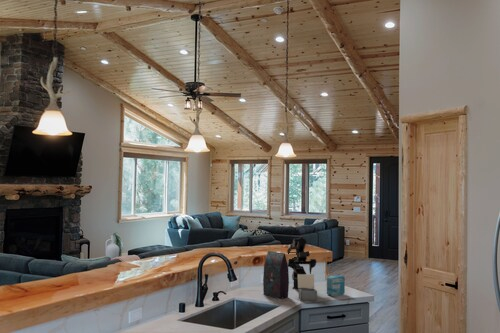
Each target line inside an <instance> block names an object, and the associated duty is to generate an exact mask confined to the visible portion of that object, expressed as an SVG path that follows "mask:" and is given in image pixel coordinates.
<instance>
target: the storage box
mask: <svg viewBox="0 0 500 333" xmlns="http://www.w3.org/2000/svg"><path fill="white" fill-rule="evenodd" d="M298 299H299V300H300V302H318V290H317V289H316V288H315V287H314V288H299V289H298Z"/></svg>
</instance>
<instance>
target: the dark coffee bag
mask: <svg viewBox="0 0 500 333" xmlns="http://www.w3.org/2000/svg"><path fill="white" fill-rule="evenodd" d="M287 260H288V259H287V255H286V253H284V252H279V251H272V250H267V254H266V257H265V260H264V265H263V275H262V276H263V278H262V279H263V280H262V282H263V283H262V284H263V285H262V287H263V289H262V290H263V295H265V296H268V297H272V298H275V299H279V300H281V299H282V300H283V299H286V298H289V288H290V285H289V284H290V280H289V279H290V275H289V272H290V271H289V267H288V261H287Z"/></svg>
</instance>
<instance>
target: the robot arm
mask: <svg viewBox="0 0 500 333" xmlns="http://www.w3.org/2000/svg"><path fill="white" fill-rule="evenodd" d="M306 246H307V240H306V239H305V238H304V237H302V236H300V237H299V238H298V237H297V238H293V239H292V243H291V244H290V246H289V248H288V249H287V252H286V254H287V253H288V254H289V253H296V255H297V257H294V258H292V259H289V260H288V259H287V260H288V261H287V264H288V268H290V269H292V270H293V271H292V274H291V279H292V281H293V287H292V289H294V290H299V288H298V274H307V273H306V271H305V268H304V266H303V265H308V266H309V267H308V270H309V274H312V269H314V268H315V267H316V265H317V259H315V258H310V259H309V260H307V259H308V258H307V257H311V256H310V255H311V254H310V251H309V250H308V251H307V250H306V251H305V249H306ZM292 250H295V251H292Z"/></svg>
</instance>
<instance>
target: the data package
mask: <svg viewBox="0 0 500 333" xmlns="http://www.w3.org/2000/svg"><path fill="white" fill-rule="evenodd" d="M345 279H346V278H345V276H343V275H339V274H338V275H337V274H336V275H329V276H327V278H326V294H327V296H331V297H335V296H342V295H343V296H344V294H345V287H346V286H345V284H346V282H345Z"/></svg>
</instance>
